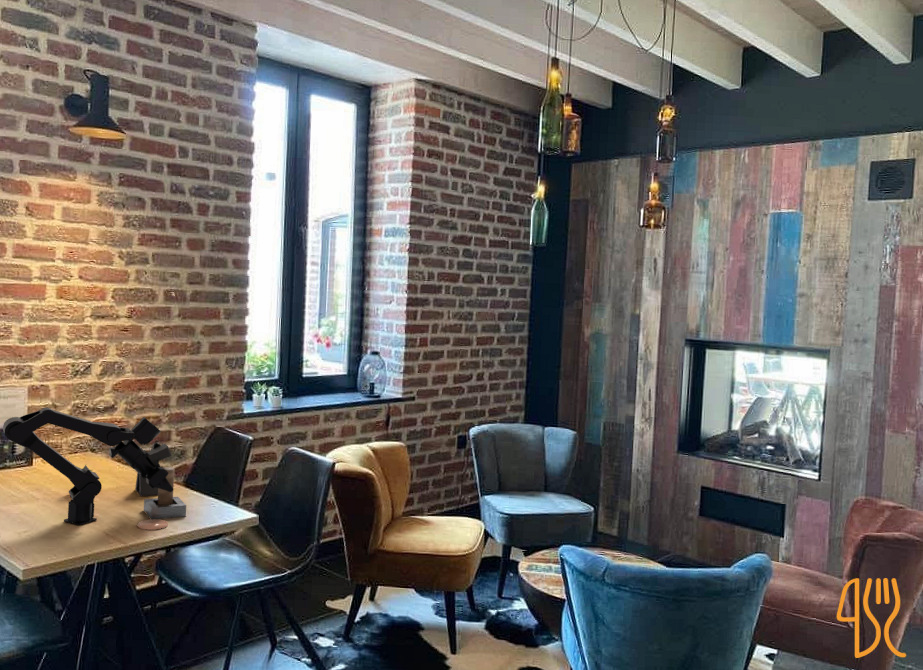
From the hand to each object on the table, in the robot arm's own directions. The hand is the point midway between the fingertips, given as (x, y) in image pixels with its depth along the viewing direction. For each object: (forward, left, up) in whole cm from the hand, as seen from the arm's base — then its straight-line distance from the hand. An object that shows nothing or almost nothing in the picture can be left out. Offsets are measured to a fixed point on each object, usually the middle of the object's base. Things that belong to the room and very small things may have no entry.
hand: (170, 488), depth 245 cm
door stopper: (+13, +22, -8) cm, 26 cm away
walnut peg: (-1, +1, -8) cm, 8 cm away
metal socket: (-1, +1, -8) cm, 8 cm away
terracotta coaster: (-12, -5, -8) cm, 15 cm away
